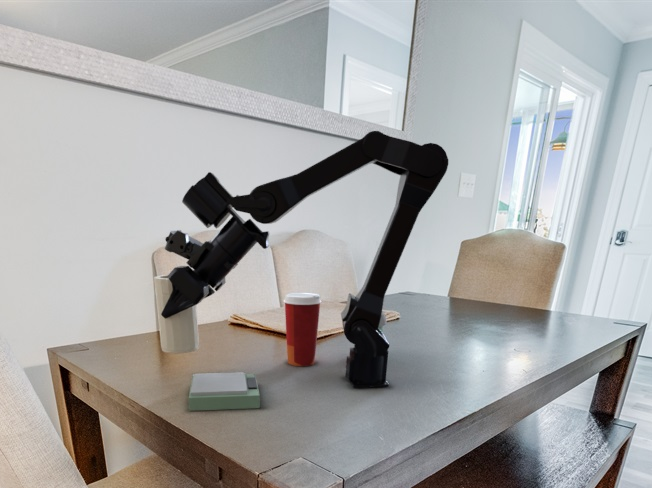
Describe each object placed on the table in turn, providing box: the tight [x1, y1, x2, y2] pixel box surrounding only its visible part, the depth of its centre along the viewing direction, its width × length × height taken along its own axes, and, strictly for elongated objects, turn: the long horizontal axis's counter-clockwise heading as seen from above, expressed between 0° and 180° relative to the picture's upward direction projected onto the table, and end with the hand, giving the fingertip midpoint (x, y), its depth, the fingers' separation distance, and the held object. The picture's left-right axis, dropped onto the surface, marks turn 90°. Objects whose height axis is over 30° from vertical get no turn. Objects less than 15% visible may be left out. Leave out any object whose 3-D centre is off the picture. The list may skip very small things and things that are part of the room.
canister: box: [153, 274, 200, 354], centre depth 83 cm, size 7×7×13 cm
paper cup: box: [282, 292, 323, 367], centre depth 94 cm, size 8×8×14 cm
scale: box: [187, 371, 261, 412], centre depth 77 cm, size 11×11×3 cm
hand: (169, 312), depth 83 cm, fingers closed on canister, 7 cm apart
